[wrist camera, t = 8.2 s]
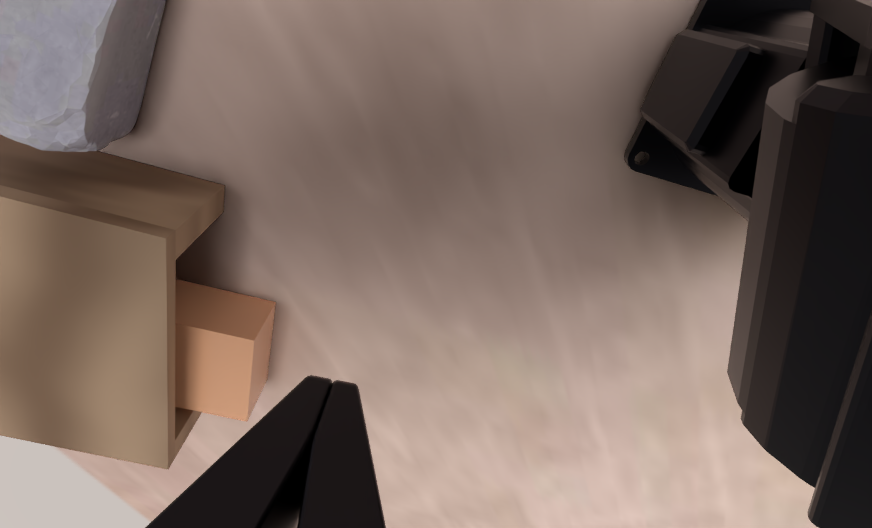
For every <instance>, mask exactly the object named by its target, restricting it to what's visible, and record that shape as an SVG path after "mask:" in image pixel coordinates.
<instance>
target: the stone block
mask: <svg viewBox="0 0 872 528" xmlns="http://www.w3.org/2000/svg"><path fill="white" fill-rule="evenodd" d="M165 3H166V0H0V134H1V135H3V136H5V137H7V138H9V139H12V140H14V141H17V142H20V143H23V144H26V145H29V146H32V147H34V148H37V149H39V150H44V151H62V152H88V151H98V150H101V149H103V148H104V147H106V146H107V145H108V144H109V143H110V142H111V141H114V140H117V139H120V138H122V137H124V136H125V135H127V134H128V133H129V132H131V130H132V128H133V127H134V125H135V123H136V120H137V117H138V114H139V110H140V108H141V104H142V99H143V95H144V91H145V87H146V83H147V77H148V74H149V70H150V65H151V60H152V56H153V52H154V48H155V44H156V40H157V36H158V32H159V27H160V23H161V19H162V15H163V11H164V7H165Z"/></svg>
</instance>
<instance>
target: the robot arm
mask: <svg viewBox="0 0 872 528" xmlns="http://www.w3.org/2000/svg"><path fill="white" fill-rule="evenodd" d="M640 110H641V113H642V116H643V117H642V119H641V121H640V123H639V125H638V127H637V129H636V131H635V133H634V135H633V137H632V139H631V141H630V143H629V145H628V147H627V149H626V152H625V155H624V158H625V162H626V163H627V165H628V166H629V167H630V168H631V169H632V170H634V171H636V172H640V173H643V174H646V175H650V176H653V177H656V178H660V179H663V180H667V181H670V182H673V183H677V184H680V185H683V186H687V187H690V188H693V189H697V190H700V191H703V192H707V193H710V194H713V195H717V196H719V197H720V198H721V199H723V200H724V201H725V202H726V203H727V204H728V205H730V206H731V207H732V208H733V209H734V210H736V211H737V212H738V213H739V214H740V215H741V216H743V217H744V218H745V219H746V220H747V221H749V222H748V229H747V237H746V244H745V251H744V258H743V265H742V272H741V279H740V286H739V293H738V300H737V307H736V314H735V321H734V328H733V335H732V343H731V350H730V357H729V364H728V371H727V373H728V376H729V379H730V381H731V384H732V387H733V390H734V393H735V396H736V399H737V402H738V404H739V406H740V407H741V409H742V415H741V420H742V423H743V425H744V426H745V427H746V428H747V429H748V431H749V432H750V433H751V434H752V435H753V437H754V438H755V439H756V440H757V441H758V442H759V444H760V445H761V446H762V447H763V448H764V449H765V450H766V451H767V452H768V453H769V454H771V455H772V456H773V457H774V458H776V459H777V460H778V461H779V462H781V463H782V464H783V465H784V466H786V467H787V468H788V469H789V470H790V471H792V472H793V473H794V474H795V475H797V476H798V477H799V478H800V479H802V480H803V481H805V482H806V483H808V484H809V485H811V486H813V487H815V491H814V494H813V497H812V500H811V503H810V507H809V510H808V517H809V519H810V521H811V522H812V523H813V524H814V525H816V526H817V527H819V528H872V0H701V1H700V3H699V5H698V7H697V9H696V11H695V13H694V15H693V17H692V19H691V21H690V23H689V25H688V27H687V29H686V30H684V31H682V32H681V33H679V34H677V35H676V37H675V39H674V41H673V43H672V45H671V47H670V49H669V51H668V53H667V55H666V57H665V59H664V61H663V63H662V65H661V67H660V69H659V71H658V73H657V75H656V77H655V79H654V81H653V83H652V86H651V88H650V90H649V92H648V94H647V96H646V98H645V100H644V102H643V104H642V106H641V109H640ZM641 151H644V152H645V153H646V154H645V157H644V158H643V159H642V160H641V161H635V160H634V159H635V156H636V155H637V154H638V153H639V152H641ZM145 528H386V526H385V521H384V516H383V511H382V505H381V500H380V495H379V490H378V485H377V480H376V475H375V470H374V465H373V460H372V455H371V449H370V444H369V439H368V434H367V429H366V424H365V419H364V414H363V409H362V404H361V399H360V393H359V389H358V386H357V385H356V384H354V383H349V382H344V381H339V380H336V381H334V382H333V383H332V381H331V380H330V379H328V378H323V377H318V376H312V375H310V376H308V377H306V378H305V379H304V380H303V381H302V382H300V383H299V384H298V385H297V386H296V387H295V388H294V389H293V390H292V391H291V392H290V393H289V394H288V395H287V396H286V397H284V398H283V399H282V400H281V401H280V402H279V403H278V404H277V405H276V406H275V407H274V408H273V409H272V410H271V411H269V412H268V413H267V414H266V415H265V416H264V417H263V418H262V419H261V420H260V421H259V422H258V423H257V424H256V425H255V426H253V427H252V428H251V429H250V430H249V431H248V432H247V433H246V434H245V435H244V436H243V437H242V438H241V439H240V440H238V441H237V442H236V443H235V444H234V445H233V446H232V447H231V448H230V449H229V450H228V451H227V452H226V453H225V454H224V455H222V456H221V457H220V458H219V459H218V460H217V461H216V462H215V463H214V464H213V465H212V466H211V467H210V468H209V469H207V470H206V471H205V472H204V473H203V474H202V475H201V476H200V477H199V478H198V479H197V480H196V481H195V482H194V483H193V484H191V485H190V486H189V487H188V488H187V489H186V490H185V491H184V492H183V493H182V494H181V495H180V496H179V497H178V498H176V499H175V500H174V501H173V502H172V503H171V504H170V505H169V506H168V507H167V508H166V509H165V510H164V511H163V512H162V513H160V514H159V515H158V516H157V517H156V518H155V519H154V520H153V521H152V522H151V523H150V524H149V525H148V526H147V527H145Z"/></svg>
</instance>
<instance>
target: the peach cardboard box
mask: <svg viewBox="0 0 872 528" xmlns="http://www.w3.org/2000/svg"><path fill="white" fill-rule="evenodd" d="M275 305H276V302H273V301H269V300H265V299H260V298H256V297H252V296H247V295H243V294H239V293H234V292H230V291H226V290H221V289H217V288H213V287H208V286H204V285H200V284H195V283H191V282H187V281H182V280H178V279H175V407H179V408H184V409H189V410H194V411H199V412H203V413H208V414H213V415H218V416H223V417H227V418H232V419H237V420H242V421H248V419H249V417H250V415H251V412H252V410H253V408H254V406H255V404H256V402H257V400H258V398H259V396H260V393H261V391H262V389H263V387H264V385H265V383H266V381H267V376H268V367H269V358H270V350H271V341H272V332H273V323H274V314H275Z"/></svg>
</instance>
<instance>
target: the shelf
mask: <svg viewBox="0 0 872 528" xmlns="http://www.w3.org/2000/svg"><path fill="white" fill-rule="evenodd" d="M224 194H225V185H221V184H218V183H214V182H210V181H206V180H203V179H199V178H195V177H191V176H188V175H184V174H180V173H177V172H173V171H169V170H165V169H162V168H158V167H154V166H150V165H147V164H143V163H139V162H136V161H132V160H128V159H124V158H121V157H117V156H113V155H110V154H106V153H102V152H98V151H88V152H62V151H44V150H39V149H37V148H34V147H32V146H29V145H26V144H23V143H20V142H17V141H14V140H12V139H9V138H7V137H5V136H3V135H1V134H0V435H1V436H6V437H11V438H16V439H21V440H26V441H31V442H36V443H41V444H45V445H50V446H55V447H60V448H65V449H70V450H75V451H80V452H85V453H90V454H94V455H99V456H104V457H109V458H114V459H119V460H124V461H129V462H134V463H139V464H144V465H148V466H153V467H158V468H163V469H169V467H170V465H171V464H172V462H173V460H174V459H175V457H176V455H177V454H178V452H179V450H180V448H181V447H182V445H183V443H184V442H185V440H186V438H187V437H188V435H189V433H190V431H191V430H192V428H193V426H194V425H195V423H196V421H197V419H198V418H199V416H200V414H201V413H202V412H199V411H194V410H189V409H184V408H179V407H175V272H176V259H177V258H178V257H179V256H180V255H181V254H182V253H183V252H184V251H185V250H186V249H187V248H188V247H189V246H190V245H191V244H192V243H193V242H194V241H195V240H196V239H197V238H198V237H199V236H200V235H201V234H202V233H203V232H204V231H205V230H206V229H207V228H208V227H209V226H210V225H211V224H212V223H213V222H214V221H215V220H216V219H217V218H218V217H219V216H220V215H221V214H222V213H223V210H224Z"/></svg>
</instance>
